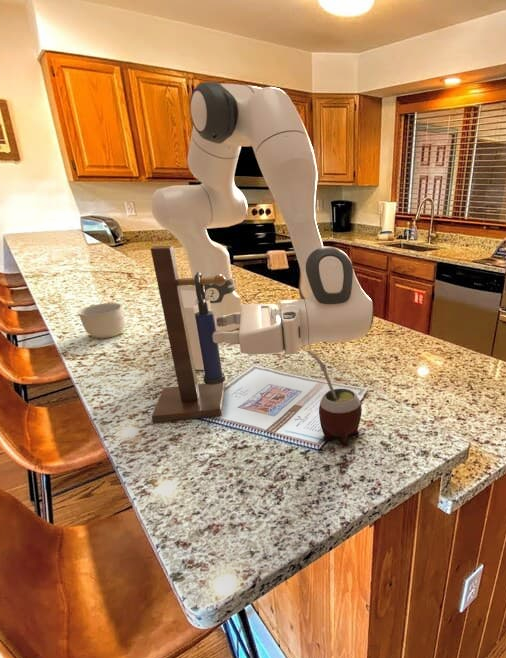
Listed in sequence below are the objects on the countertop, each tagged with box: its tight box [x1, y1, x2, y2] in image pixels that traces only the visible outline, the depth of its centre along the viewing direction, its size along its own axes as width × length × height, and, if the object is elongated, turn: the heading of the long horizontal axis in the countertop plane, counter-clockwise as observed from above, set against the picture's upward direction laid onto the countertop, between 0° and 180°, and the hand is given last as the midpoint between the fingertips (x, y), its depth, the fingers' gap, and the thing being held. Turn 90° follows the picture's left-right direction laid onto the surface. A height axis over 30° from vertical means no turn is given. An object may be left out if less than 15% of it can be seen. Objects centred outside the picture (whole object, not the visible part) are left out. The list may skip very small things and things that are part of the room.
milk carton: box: [180, 285, 211, 371], centre depth 98 cm, size 7×7×19 cm
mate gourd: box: [307, 349, 363, 448], centre depth 70 cm, size 8×8×15 cm
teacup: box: [77, 302, 127, 339], centre depth 122 cm, size 14×11×8 cm
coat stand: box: [150, 245, 226, 424], centre depth 78 cm, size 12×16×30 cm
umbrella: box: [195, 272, 226, 385], centre depth 79 cm, size 6×4×21 cm, turn 13°
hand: (215, 328), depth 79 cm, fingers open, 8 cm apart
